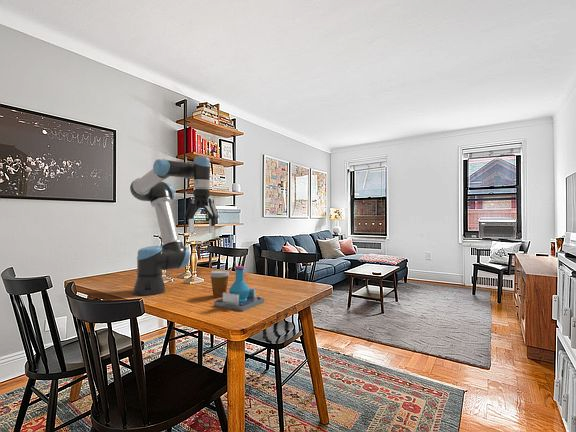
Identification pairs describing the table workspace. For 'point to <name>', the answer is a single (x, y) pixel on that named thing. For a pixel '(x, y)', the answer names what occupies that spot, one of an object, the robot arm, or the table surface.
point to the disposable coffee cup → (219, 282)
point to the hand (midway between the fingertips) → (201, 232)
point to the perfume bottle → (240, 284)
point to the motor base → (233, 301)
